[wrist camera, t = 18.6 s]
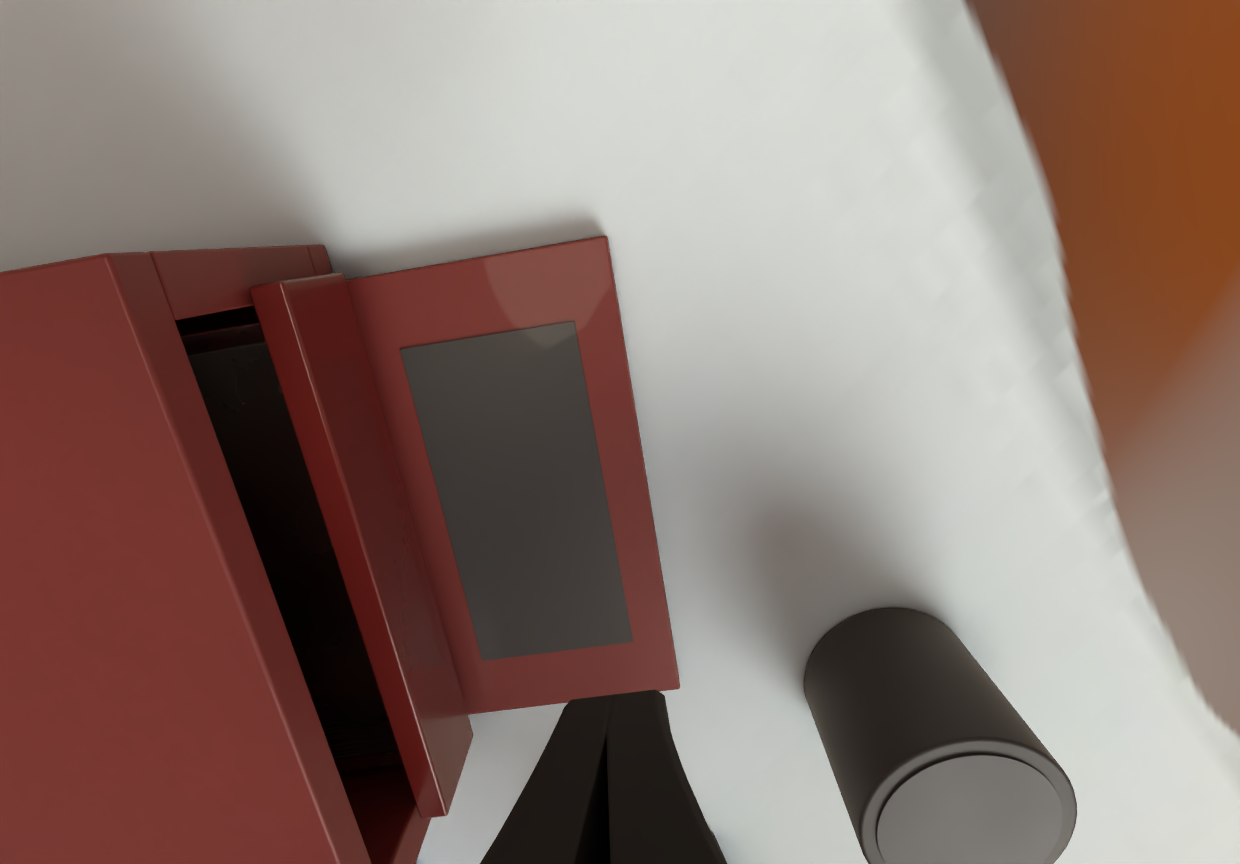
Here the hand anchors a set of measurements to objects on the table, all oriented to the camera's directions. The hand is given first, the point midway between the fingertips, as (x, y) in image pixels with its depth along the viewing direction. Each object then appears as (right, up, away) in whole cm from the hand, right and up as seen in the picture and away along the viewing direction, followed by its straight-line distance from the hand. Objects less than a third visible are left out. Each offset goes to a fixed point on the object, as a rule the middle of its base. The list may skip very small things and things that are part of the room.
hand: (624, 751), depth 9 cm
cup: (+8, -3, +12) cm, 15 cm away
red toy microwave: (-10, +2, +11) cm, 15 cm away
